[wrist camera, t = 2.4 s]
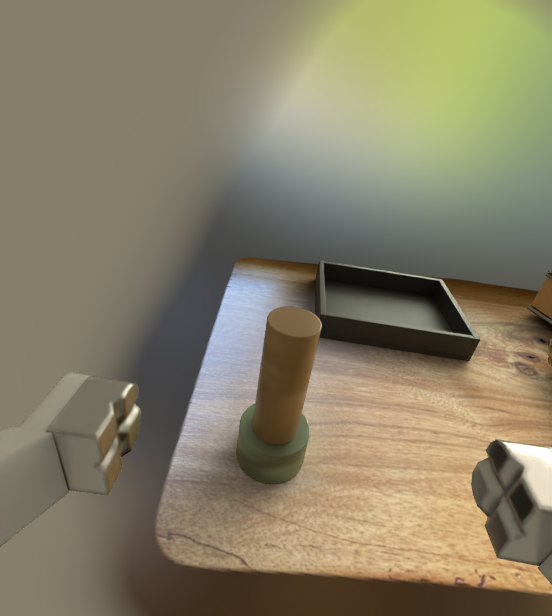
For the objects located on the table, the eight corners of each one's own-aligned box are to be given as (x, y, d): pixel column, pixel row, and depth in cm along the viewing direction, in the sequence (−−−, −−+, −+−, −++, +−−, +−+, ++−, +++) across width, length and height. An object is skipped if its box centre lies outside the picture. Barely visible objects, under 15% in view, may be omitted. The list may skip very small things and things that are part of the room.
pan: (315, 336, 42) (320, 314, 40) (315, 279, 54) (319, 260, 52) (469, 361, 41) (480, 339, 40) (434, 298, 53) (442, 279, 52)
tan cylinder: (230, 477, 26) (245, 339, 20) (242, 421, 30) (257, 293, 24) (302, 489, 26) (339, 354, 20) (303, 431, 30) (335, 305, 24)
